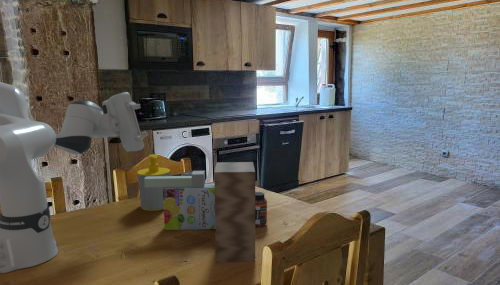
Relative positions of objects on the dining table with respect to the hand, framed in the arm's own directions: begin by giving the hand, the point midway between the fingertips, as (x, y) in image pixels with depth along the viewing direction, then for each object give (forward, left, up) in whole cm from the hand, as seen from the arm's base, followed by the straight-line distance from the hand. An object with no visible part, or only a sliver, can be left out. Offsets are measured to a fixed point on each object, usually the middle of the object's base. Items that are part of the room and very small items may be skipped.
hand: (142, 120), depth 118 cm
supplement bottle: (+37, +12, -38) cm, 54 cm away
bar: (+9, +3, -23) cm, 25 cm away
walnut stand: (+34, -11, -38) cm, 52 cm away
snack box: (+16, +5, -38) cm, 41 cm away
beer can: (+3, +32, -38) cm, 49 cm away
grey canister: (-8, +22, -38) cm, 44 cm away
